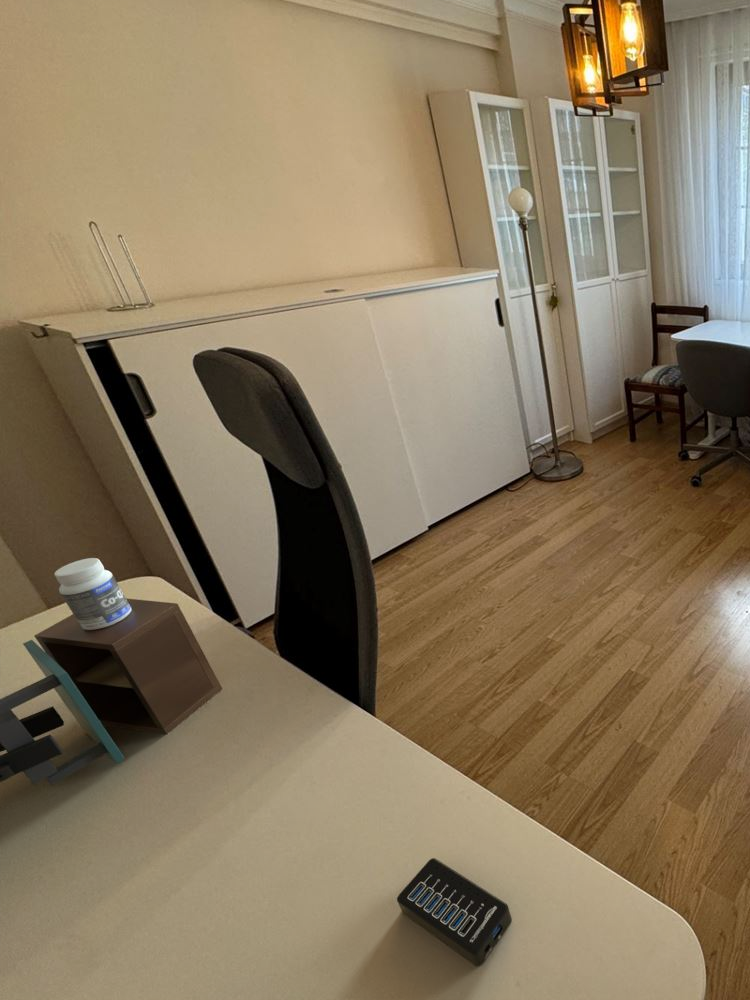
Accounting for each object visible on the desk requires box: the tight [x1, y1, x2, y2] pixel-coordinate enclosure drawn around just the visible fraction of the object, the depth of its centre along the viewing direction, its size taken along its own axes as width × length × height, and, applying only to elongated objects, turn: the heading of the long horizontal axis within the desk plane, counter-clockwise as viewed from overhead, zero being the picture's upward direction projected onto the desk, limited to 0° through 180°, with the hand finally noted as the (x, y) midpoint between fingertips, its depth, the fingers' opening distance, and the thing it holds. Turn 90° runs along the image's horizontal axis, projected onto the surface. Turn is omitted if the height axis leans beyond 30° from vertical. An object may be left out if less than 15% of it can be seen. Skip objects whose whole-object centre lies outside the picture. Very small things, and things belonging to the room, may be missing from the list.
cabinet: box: [33, 597, 223, 735], centre depth 77 cm, size 12×8×16 cm, turn 82°
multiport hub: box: [396, 857, 513, 967], centre depth 55 cm, size 4×11×2 cm, turn 65°
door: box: [0, 639, 125, 786], centre depth 68 cm, size 12×7×15 cm, turn 62°
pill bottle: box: [54, 557, 132, 630], centre depth 72 cm, size 5×5×8 cm
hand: (56, 729), depth 67 cm, fingers open, 5 cm apart
